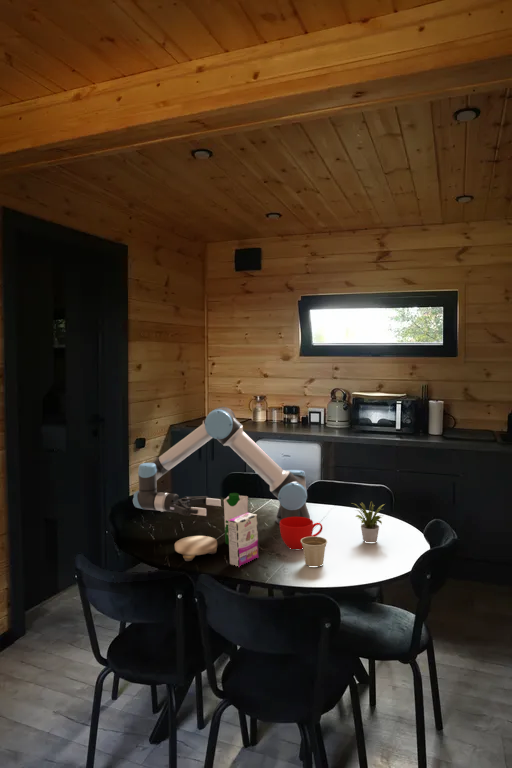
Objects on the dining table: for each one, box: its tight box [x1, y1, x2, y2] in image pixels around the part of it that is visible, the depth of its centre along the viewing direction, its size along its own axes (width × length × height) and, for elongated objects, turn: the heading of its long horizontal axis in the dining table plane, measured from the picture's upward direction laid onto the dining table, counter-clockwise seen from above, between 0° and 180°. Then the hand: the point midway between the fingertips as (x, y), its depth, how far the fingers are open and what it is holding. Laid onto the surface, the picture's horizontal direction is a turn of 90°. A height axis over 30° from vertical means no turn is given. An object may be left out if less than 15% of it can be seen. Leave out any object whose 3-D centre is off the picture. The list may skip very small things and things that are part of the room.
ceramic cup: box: [279, 517, 323, 550], centre depth 203 cm, size 13×17×10 cm
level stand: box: [174, 535, 218, 562], centre depth 199 cm, size 16×16×4 cm
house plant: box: [351, 501, 386, 543], centre depth 207 cm, size 14×14×16 cm
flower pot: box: [301, 535, 328, 567], centre depth 186 cm, size 9×9×9 cm
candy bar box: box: [228, 512, 260, 568], centre depth 190 cm, size 11×5×16 cm, turn 139°
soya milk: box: [223, 492, 249, 545], centre depth 210 cm, size 9×9×20 cm
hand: (213, 507), depth 213 cm, fingers open, 13 cm apart
